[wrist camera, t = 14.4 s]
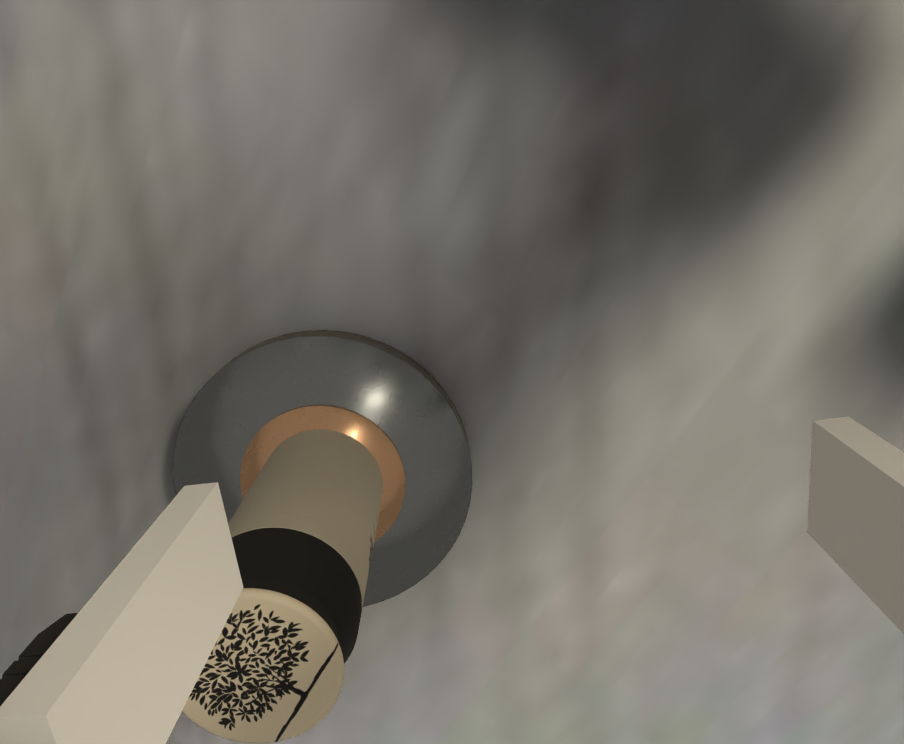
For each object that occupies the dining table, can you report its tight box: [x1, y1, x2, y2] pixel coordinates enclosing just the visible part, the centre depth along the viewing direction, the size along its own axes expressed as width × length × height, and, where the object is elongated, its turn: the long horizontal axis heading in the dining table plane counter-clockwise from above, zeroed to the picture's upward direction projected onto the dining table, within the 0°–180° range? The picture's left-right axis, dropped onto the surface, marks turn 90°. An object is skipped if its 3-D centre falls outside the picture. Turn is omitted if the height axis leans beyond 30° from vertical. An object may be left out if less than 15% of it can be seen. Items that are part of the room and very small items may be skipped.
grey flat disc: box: [173, 330, 472, 607], centre depth 46 cm, size 20×20×2 cm
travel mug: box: [182, 429, 383, 743], centre depth 36 cm, size 8×8×18 cm
